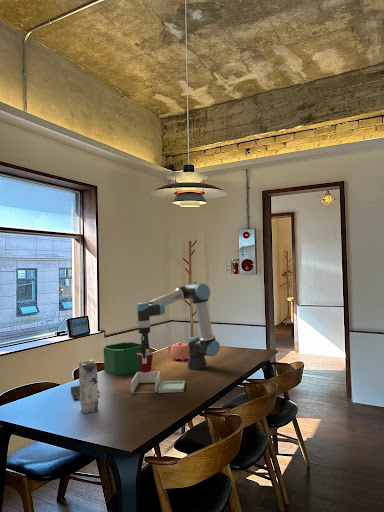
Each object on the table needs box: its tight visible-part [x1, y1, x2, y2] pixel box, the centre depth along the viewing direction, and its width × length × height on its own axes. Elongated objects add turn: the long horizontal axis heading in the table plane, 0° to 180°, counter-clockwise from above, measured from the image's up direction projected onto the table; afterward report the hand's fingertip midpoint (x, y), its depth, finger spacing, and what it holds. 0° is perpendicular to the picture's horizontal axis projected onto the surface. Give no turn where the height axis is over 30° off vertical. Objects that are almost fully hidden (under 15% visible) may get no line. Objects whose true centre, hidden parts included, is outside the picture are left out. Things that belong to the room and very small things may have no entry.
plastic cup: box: [137, 351, 155, 373], centre depth 255 cm, size 11×11×12 cm
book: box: [70, 385, 100, 401], centre depth 247 cm, size 22×15×3 cm
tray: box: [157, 380, 186, 394], centre depth 250 cm, size 18×16×2 cm
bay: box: [130, 370, 162, 395], centre depth 254 cm, size 23×16×7 cm
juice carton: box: [78, 359, 99, 414], centre depth 217 cm, size 9×10×27 cm
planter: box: [103, 341, 142, 376], centre depth 304 cm, size 26×26×18 cm
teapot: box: [167, 341, 189, 362], centre depth 329 cm, size 22×13×14 cm, turn 71°
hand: (146, 361), depth 255 cm, fingers closed on plastic cup, 11 cm apart
